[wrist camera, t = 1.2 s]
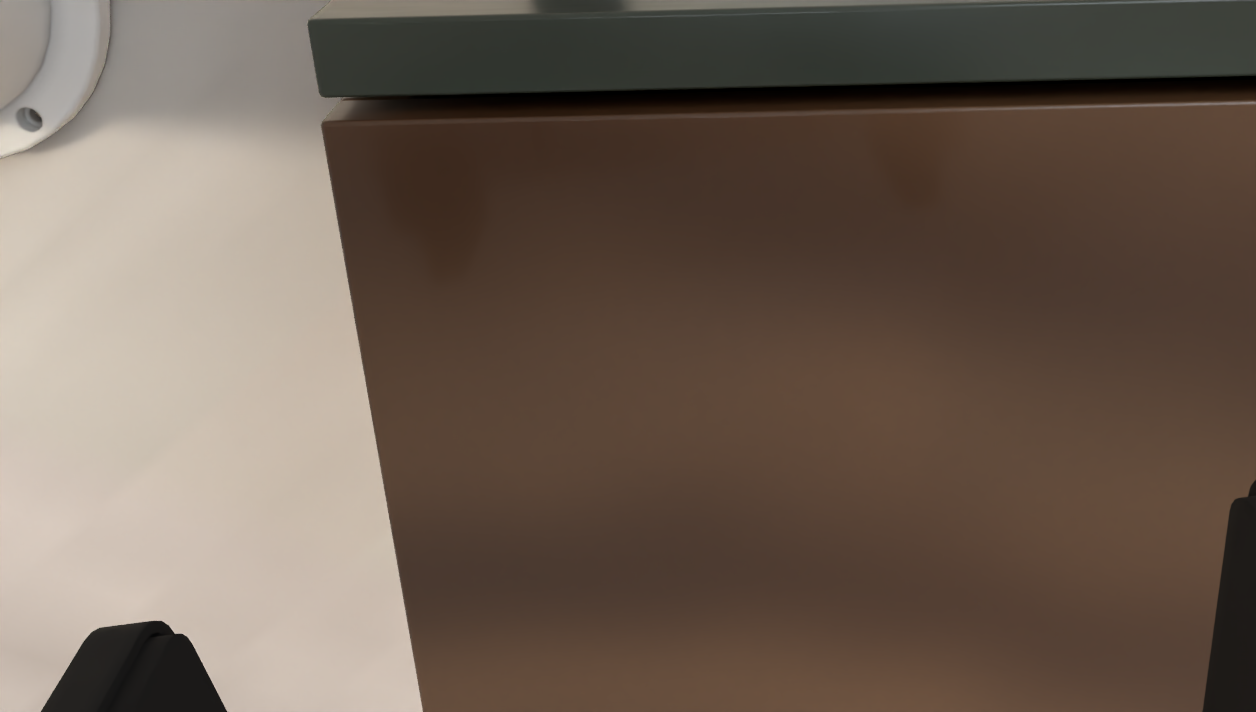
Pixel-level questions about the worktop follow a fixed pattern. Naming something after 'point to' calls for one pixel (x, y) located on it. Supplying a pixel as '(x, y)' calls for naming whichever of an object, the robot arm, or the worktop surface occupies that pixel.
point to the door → (765, 43)
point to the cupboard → (808, 389)
